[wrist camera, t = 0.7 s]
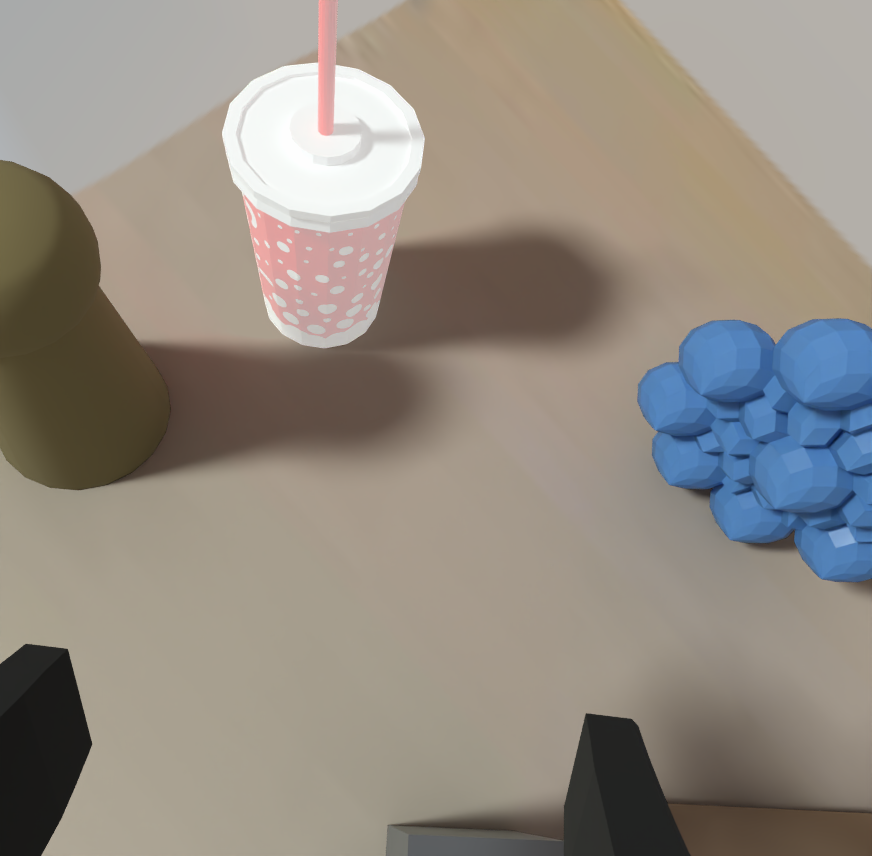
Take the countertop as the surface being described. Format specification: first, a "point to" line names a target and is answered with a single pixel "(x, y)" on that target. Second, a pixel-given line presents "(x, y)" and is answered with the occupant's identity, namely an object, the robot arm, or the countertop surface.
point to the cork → (66, 348)
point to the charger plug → (467, 842)
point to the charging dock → (772, 831)
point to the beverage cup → (323, 188)
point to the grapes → (774, 435)
